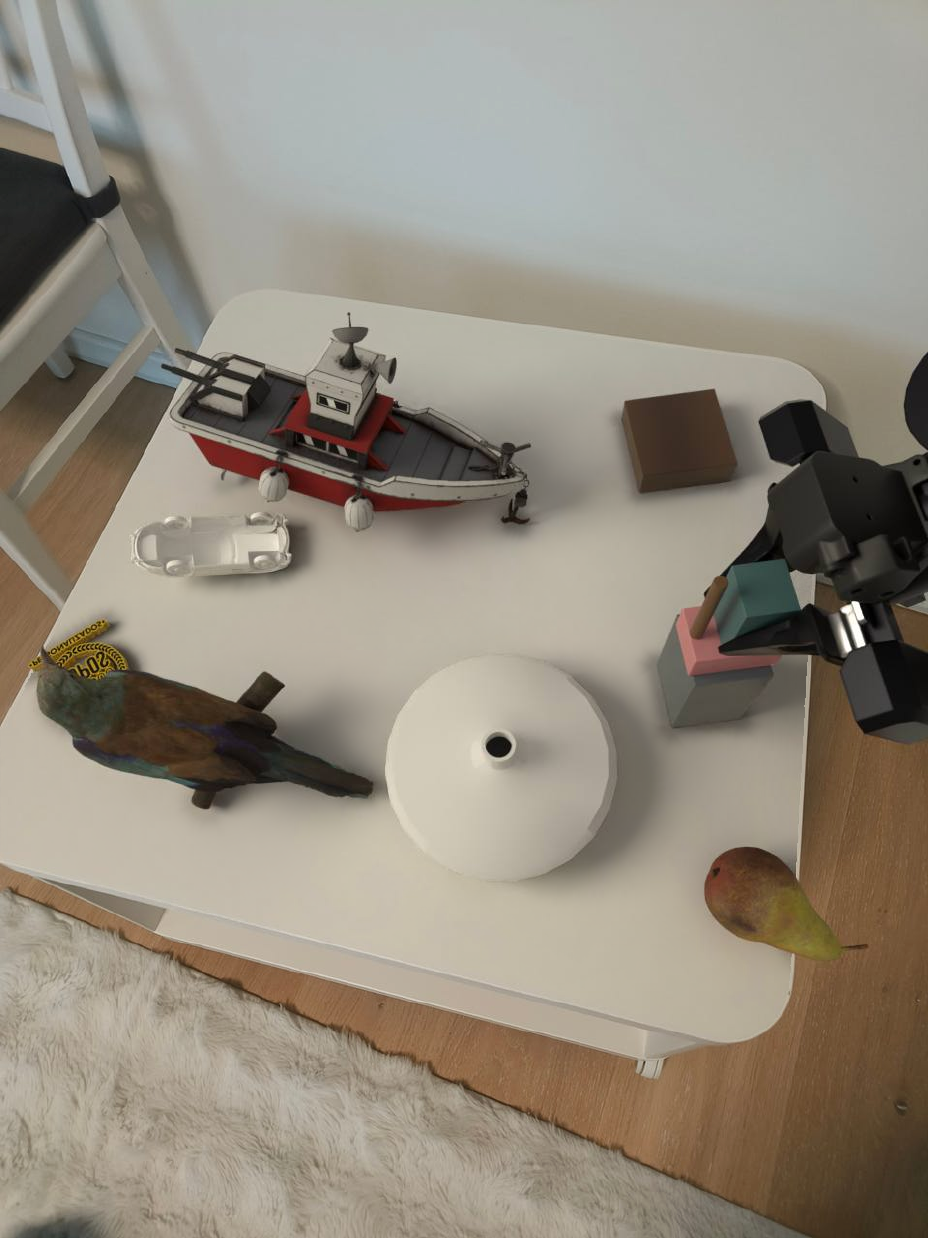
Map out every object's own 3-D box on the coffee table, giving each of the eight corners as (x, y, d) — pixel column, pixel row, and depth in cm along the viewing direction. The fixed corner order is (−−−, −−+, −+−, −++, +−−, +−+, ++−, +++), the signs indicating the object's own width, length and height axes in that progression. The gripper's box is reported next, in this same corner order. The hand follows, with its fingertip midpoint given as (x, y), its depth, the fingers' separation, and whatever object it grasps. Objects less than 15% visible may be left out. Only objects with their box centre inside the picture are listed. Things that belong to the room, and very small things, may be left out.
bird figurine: (399, 714, 61) (180, 585, 47) (359, 850, 58) (108, 754, 44) (278, 707, 69) (60, 595, 55) (236, 826, 66) (-8, 739, 52)
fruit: (753, 868, 49) (916, 990, 49) (743, 815, 54) (890, 925, 55) (689, 925, 51) (846, 1042, 51) (686, 869, 56) (828, 976, 57)
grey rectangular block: (723, 655, 63) (753, 603, 54) (740, 719, 61) (774, 675, 52) (656, 664, 63) (676, 613, 55) (671, 728, 61) (694, 686, 52)
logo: (103, 616, 66) (147, 695, 63) (107, 620, 67) (151, 698, 64) (26, 663, 65) (67, 745, 62) (31, 666, 66) (72, 748, 63)
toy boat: (214, 405, 76) (200, 218, 62) (532, 507, 75) (588, 340, 62) (142, 501, 68) (108, 310, 54) (498, 616, 67) (554, 452, 54)
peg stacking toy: (760, 613, 54) (806, 539, 46) (775, 665, 53) (825, 599, 44) (675, 624, 54) (704, 553, 46) (687, 676, 53) (721, 613, 44)
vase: (396, 897, 57) (380, 885, 51) (386, 678, 64) (371, 642, 57) (629, 876, 57) (643, 860, 50) (595, 658, 63) (604, 619, 57)
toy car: (287, 507, 68) (286, 528, 71) (128, 514, 65) (135, 535, 68) (292, 561, 66) (291, 580, 69) (129, 570, 63) (136, 590, 66)
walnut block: (708, 407, 72) (714, 387, 70) (730, 481, 69) (737, 463, 66) (621, 419, 72) (624, 400, 70) (639, 493, 69) (643, 476, 67)
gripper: (857, 277, 39) (598, 451, 49) (1014, 651, 31) (668, 766, 41) (948, 370, 46) (706, 505, 56) (1095, 693, 38) (783, 782, 48)
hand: (714, 624), depth 50 cm, fingers closed on peg stacking toy, 3 cm apart
